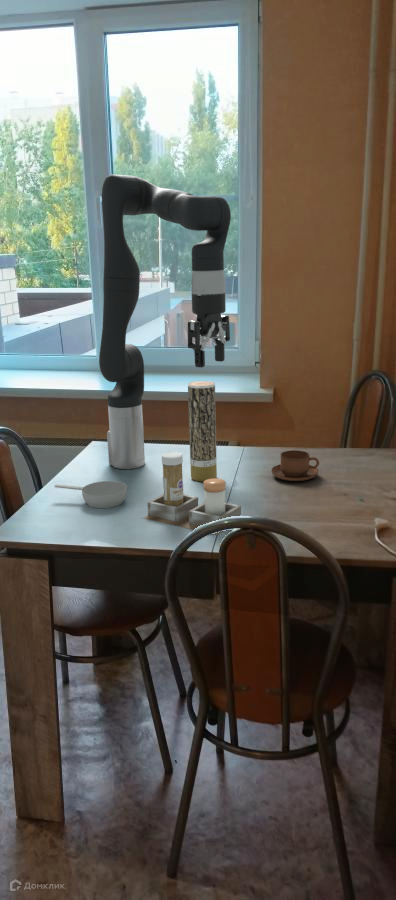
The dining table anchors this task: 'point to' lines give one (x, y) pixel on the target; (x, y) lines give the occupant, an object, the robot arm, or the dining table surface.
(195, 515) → the board
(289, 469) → the cup and saucer
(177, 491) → the sprinkles bottle
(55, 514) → the dining table surface
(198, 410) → the paper tube
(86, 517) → the dining table surface
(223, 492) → the white lotion bottle
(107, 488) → the small pan
